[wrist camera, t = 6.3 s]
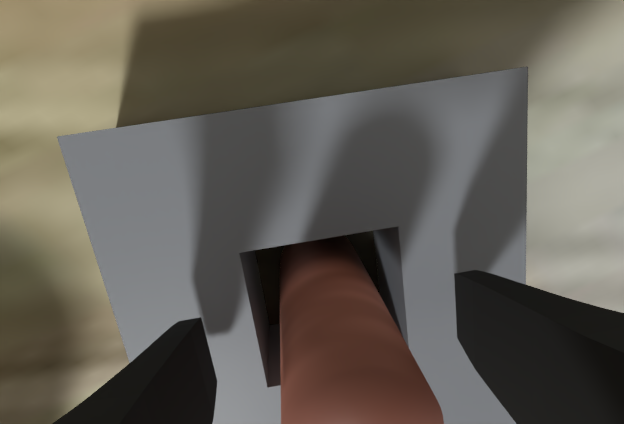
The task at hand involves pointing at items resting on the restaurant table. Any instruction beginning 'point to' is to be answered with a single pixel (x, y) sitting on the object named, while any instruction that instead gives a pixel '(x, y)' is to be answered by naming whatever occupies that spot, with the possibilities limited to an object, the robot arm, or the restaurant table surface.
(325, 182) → the block
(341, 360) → the pin
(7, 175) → the restaurant table surface
